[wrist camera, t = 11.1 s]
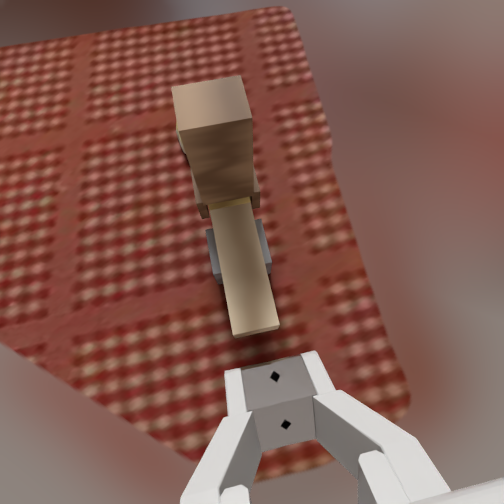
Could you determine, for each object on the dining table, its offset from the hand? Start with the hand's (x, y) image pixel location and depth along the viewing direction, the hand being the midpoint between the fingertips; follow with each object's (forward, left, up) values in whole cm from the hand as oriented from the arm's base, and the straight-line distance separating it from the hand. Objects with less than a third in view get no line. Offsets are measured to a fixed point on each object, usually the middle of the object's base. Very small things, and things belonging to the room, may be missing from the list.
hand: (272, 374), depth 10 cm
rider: (0, +18, -18) cm, 25 cm away
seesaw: (0, +12, -23) cm, 26 cm away
